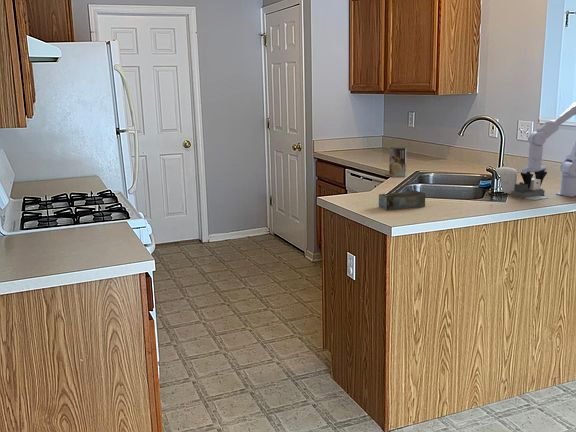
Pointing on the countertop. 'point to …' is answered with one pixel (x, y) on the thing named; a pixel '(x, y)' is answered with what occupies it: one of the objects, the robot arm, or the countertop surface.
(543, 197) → the pad
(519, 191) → the power strip
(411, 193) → the beverage carton
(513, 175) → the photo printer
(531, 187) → the block
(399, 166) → the coffee box
